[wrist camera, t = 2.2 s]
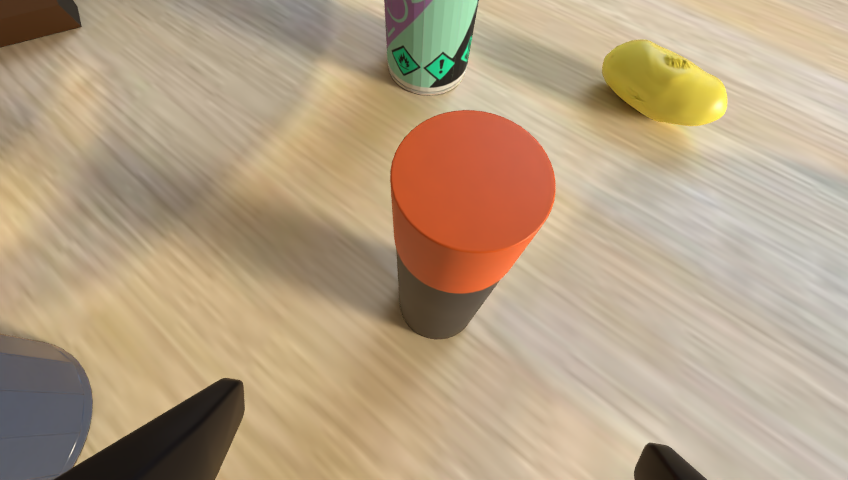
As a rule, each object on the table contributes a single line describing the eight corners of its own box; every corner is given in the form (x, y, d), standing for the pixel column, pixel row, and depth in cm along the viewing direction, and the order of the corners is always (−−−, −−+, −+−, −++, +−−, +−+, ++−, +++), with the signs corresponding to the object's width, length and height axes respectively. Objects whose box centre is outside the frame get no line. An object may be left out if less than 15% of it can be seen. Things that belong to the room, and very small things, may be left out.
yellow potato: (611, 58, 29) (641, 8, 25) (713, 119, 27) (759, 75, 23) (580, 90, 28) (606, 43, 24) (684, 157, 26) (729, 117, 22)
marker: (484, 331, 21) (580, 235, 9) (406, 347, 20) (407, 268, 9) (464, 258, 22) (527, 100, 11) (392, 272, 22) (377, 120, 10)
